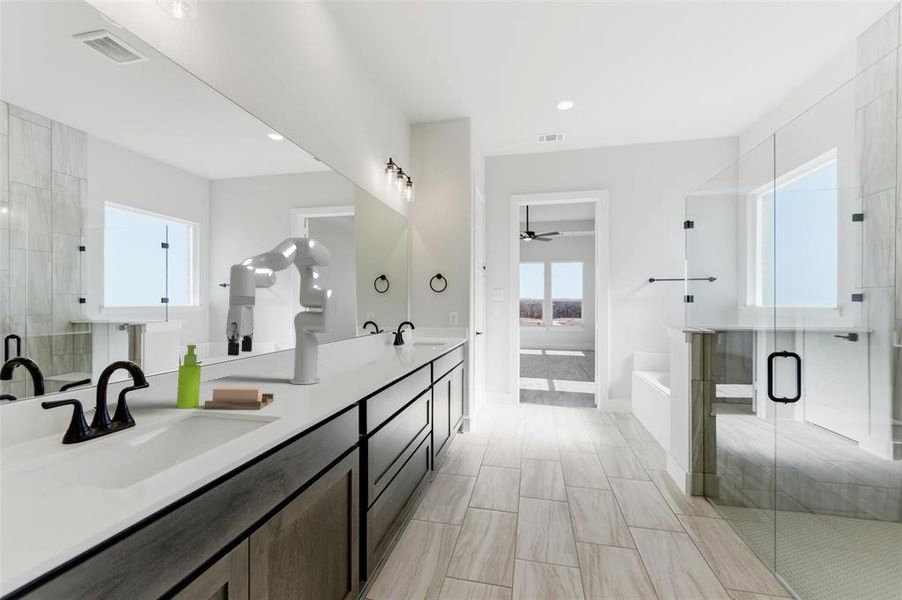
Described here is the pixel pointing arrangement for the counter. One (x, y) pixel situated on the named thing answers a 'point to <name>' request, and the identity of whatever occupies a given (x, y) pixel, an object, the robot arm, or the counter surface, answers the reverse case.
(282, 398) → the counter surface
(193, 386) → the soap dispenser
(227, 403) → the drying rack
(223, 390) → the pink rectangular block
